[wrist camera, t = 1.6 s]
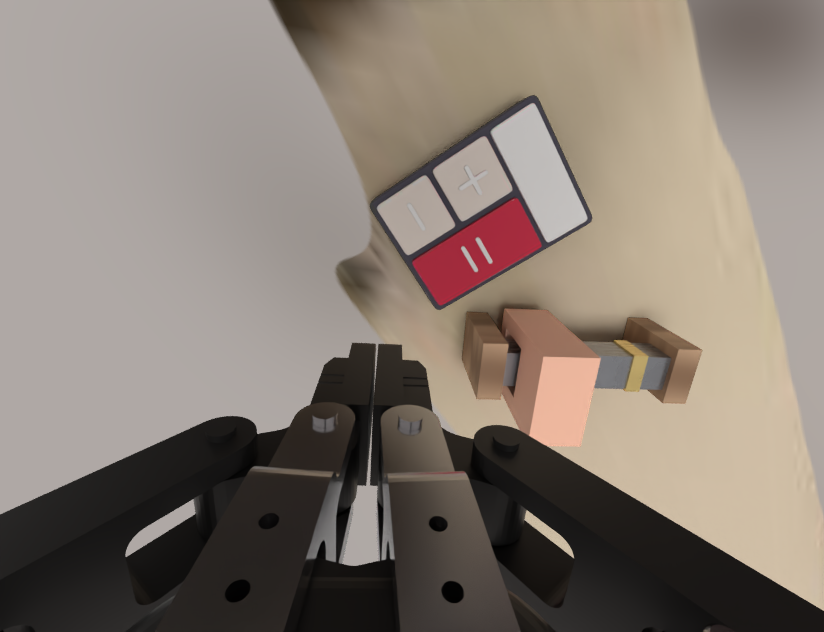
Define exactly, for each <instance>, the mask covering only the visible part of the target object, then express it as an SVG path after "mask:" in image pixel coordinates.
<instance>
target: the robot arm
mask: <svg viewBox="0 0 824 632" xmlns="http://www.w3.org/2000/svg"><path fill="white" fill-rule="evenodd" d="M375 352H376V344H369V343H352V346H351V350H350V354H349V358H336V357H335V358H333V359H332V360H330V361H329V362H328V363H326V364H325V365H324V368H323V371H322V373H321V376H320V379H319V383H318V384H317V387H316V390H315V393H314V396H313V398H312V401H311V404H310V405H309V406H306V407H304V408H303V409H301V410H300V411H299V412H298V413H297V414H296V415H295V417H294V419H293V421H292V423H291V425H290V426H289V427H288V428H285V429H282V430H277V431H272V432H266V433H260V434H257V429H256V426H255V424H254V423H253V422H252V421H250V420H249V419H246V418H243V417H238V416H226V417H219V418H215V419H211V420H209V421H206V422H203V423H201V424H199V425H197V426H195V427H192V428H190V429H189V430H186V431H184V432H181V433H179V434H177V435H175V436H173V437H170V438H168V439H166V440H164V441H162V442H160V443H157V444H155V445H153V446H150V447H148V448H146V449H144V450H142V451H139V452H137V453H135V454H133V455H131V456H129V457H126V458H124V459H122V460H120V461H117V462H115V463H113V464H111V465H109V466H106V467H104V468H102V469H100V470H97V471H95V472H93V473H91V474H89V475H87V476H84V477H82V478H80V479H78V480H76V481H73V482H71V483H69V484H67V485H65V486H62V487H60V488H58V489H56V490H53V491H51V492H49V493H47V494H44V495H42V496H40V497H38V498H36V499H34V500H32V501H29V502H27V503H25V504H22V505H20V506H18V507H16V508H14V509H11V510H10V511H7V512H5V513H3V514H0V632H824V611H823V610H821V609H819V608H818V607H816V606H814V605H813V604H811V603H809V602H808V601H806V600H804V599H803V598H801V597H799V596H798V595H796V594H794V593H792V592H791V591H789V590H787V589H786V588H784V587H782V586H781V585H779V584H777V583H776V582H774V581H772V580H771V579H769V578H767V577H766V576H764V575H762V574H761V573H759V572H757V571H756V570H754V569H752V568H750V567H749V566H747V565H745V564H744V563H742V562H740V561H739V560H737V559H735V558H734V557H732V556H730V555H729V554H727V553H725V552H724V551H722V550H720V549H719V548H717V547H715V546H714V545H712V544H710V543H708V542H707V541H705V540H703V539H702V538H700V537H698V536H697V535H695V534H693V533H692V532H690V531H688V530H687V529H685V528H683V527H682V526H680V525H678V524H677V523H675V522H673V521H672V520H670V519H668V518H666V517H665V516H663V515H661V514H660V513H658V512H656V511H655V510H653V509H651V508H650V507H648V506H646V505H645V504H643V503H641V502H640V501H638V500H636V499H635V498H633V497H631V496H630V495H628V494H626V493H624V492H623V491H621V490H619V489H618V488H616V487H614V486H613V485H611V484H609V483H608V482H606V481H604V480H603V479H601V478H599V477H598V476H596V475H594V474H593V473H591V472H589V471H588V470H586V469H584V468H582V467H581V466H579V465H577V464H576V463H574V462H572V461H571V460H569V459H567V458H566V457H564V456H562V455H561V454H559V453H557V452H556V451H554V450H552V449H551V448H549V447H547V446H546V445H544V444H542V443H540V442H539V441H537V440H535V439H534V438H532V437H530V436H529V435H527V434H525V433H524V432H522V431H520V430H517V429H515V428H512V427H508V426H502V425H491V426H486V427H483V428H481V429H480V430H478V431H477V432H476V434H475V436H474V439H470V438H466V437H462V436H458V435H455V434H453V433H450V432H448V431H446V430H445V429H443V428H442V427H441V425H440V421H439V419H438V417H437V416H436V414H434V413H433V411H432V404H431V398H430V391H429V387H428V386H429V385H428V380H427V373H426V368H425V367H424V366H423V365H422V364H421V363H420V362H419V361H412V360H402V345H394V344H379V345H378V357H377V369H376V379H375V377H374V376H375ZM374 379H375V391H374ZM373 401H374V402H373ZM372 414H373V424H372ZM371 426H373V427H372V452H371V477H370V478H371V479H370V485H373V486H378V490H377V513H376V515H377V540H378V561H376V562H373V563H368V564H364V565H359V566H348V565H344V564H342V563H343V558H344V553H345V548H346V544H347V539H348V534H349V529H350V524H351V520H352V515H353V502H354V500H355V498H356V492H357V485H365V486H366V482H367V471H368V459H369V448H370V436H371ZM192 499H194V505H195V512H196V514H195V515H193V516H192V517H190V518H188V519H187V520H185V521H184V522H182V523H181V524H179V525H177V526H176V527H174V528H172V529H171V530H169V531H168V532H166V533H165V534H163V535H161V536H160V537H158V538H156V539H155V540H153V541H152V542H150V543H148V544H147V545H145V546H144V547H142V548H140V549H139V550H137V551H136V552H134V553H132V554H131V555H129V556H128V557H125V553H126V549H127V547H128V544H129V543H130V541H131V540H132V538H133V537H134V536H135V535H136V534H137V533H138V532H139V531H141V530H142V529H143V528H145V527H147V526H148V525H150V524H152V523H153V522H155V521H157V520H158V519H160V518H162V517H163V516H165V515H167V514H169V513H170V512H172V511H174V510H175V509H177V508H179V507H180V506H182V505H184V504H185V503H187V502H189V501H191V500H192ZM526 510H528V511H529V512H530V513H532V514H533V515H534V516H536V517H537V518H538V519H540V520H541V521H542V522H544V523H545V524H546V525H548V526H549V527H550V528H552V529H553V530H554V531H556V532H557V533H558V534H560V535H561V536H562V537H563V538H564V539H565V540H566V541H567V543H568V544H569V545H570V547H571V549H572V551H573V554H574V558H572V557H571V556H570V555H569V554H567V553H566V552H565V551H563V550H562V549H561V548H560V547H558V546H557V545H556V544H554V543H553V542H552V541H550V540H549V539H548V538H547V537H545V536H544V535H543V534H541V533H540V532H539V531H538V530H536V529H535V528H534V527H532V526H531V525H530V524H529V523H527V522H526V521H525V520H524V519H525V514H526Z"/></svg>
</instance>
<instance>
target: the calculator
mask: <svg viewBox="0 0 824 632" xmlns="http://www.w3.org/2000/svg"><path fill="white" fill-rule="evenodd" d="M370 208H371V210H372V212H373V214H374V215H375V217H376V218H377V220H378V221H379V223H380V224H381V226H382V227H383V229H384V230H385V232H386V234H387V235H388V237H389V238H390V240H391V241H392V243H393V244H394V246H395V247H396V249H397V250H398V252H399V254H400V255H401V257H402V258H403V260H404V261H405V263H406V264H407V266H408V267H409V269H410V270H411V272H412V274H413V275H414V277H415V278H416V280H417V281H418V283H419V284H420V286H421V287H422V289H423V290H424V292H425V294H426V295H427V297H428V298H429V300H430V301H431V303H432V304H433V306H434V307H435V308H436V309H437V310H441V309H443V308H445V307H446V306H448V305H450V304H452V303H453V302H455V301H457V300H458V299H460V298H462V297H464V296H465V295H467V294H469V293H470V292H472V291H474V290H476V289H477V288H479V287H481V286H483V285H484V284H486V283H488V282H489V281H491V280H493V279H495V278H496V277H498V276H500V275H501V274H503V273H505V272H507V271H508V270H510V269H512V268H513V267H515V266H517V265H519V264H520V263H522V262H524V261H525V260H527V259H529V258H531V257H532V256H534V255H536V254H537V253H539V252H541V251H543V250H544V249H546V248H548V247H550V246H551V245H553V244H555V243H556V242H558V241H560V240H562V239H563V238H565V237H567V236H568V235H570V234H572V233H574V232H575V231H577V230H579V229H580V228H582V227H584V226H586V225H587V224H589V223H590V222H591V221H592V215H591V212H590V210H589V208H588V206H587V204H586V202H585V199H584V197H583V195H582V193H581V191H580V188H579V186H578V184H577V182H576V180H575V178H574V175H573V173H572V171H571V169H570V167H569V164H568V162H567V160H566V158H565V156H564V154H563V151H562V149H561V147H560V145H559V143H558V140H557V138H556V136H555V134H554V132H553V130H552V127H551V125H550V123H549V121H548V119H547V116H546V114H545V112H544V110H543V108H542V106H541V103H540V101H539V99H538V98H537V96H535V95H532V96H529V97H527V98H525V99H523V100H521V101H520V102H518V103H516V104H515V105H513V106H512V107H510V108H509V109H507V110H506V111H504V112H503V113H501V114H500V115H498V116H497V117H495V118H494V119H492V120H491V121H489V122H488V123H486V124H485V125H483V126H482V127H481V128H479V129H478V130H476V131H475V132H473V133H472V134H470V135H469V136H467V137H466V138H464V139H463V140H461V141H460V142H458V143H457V144H455V145H454V146H452V147H451V148H449V149H448V150H446V151H445V152H443V153H442V154H440V155H439V156H437V157H436V158H434V159H433V160H431V161H430V162H428V163H427V164H425V165H424V166H422V167H421V168H419V169H418V170H416V171H415V172H413V173H412V174H410V175H409V176H407V177H406V178H404V179H403V180H401V181H400V182H398V183H397V184H395V185H394V186H392V187H391V188H389V189H388V190H386V191H385V192H383V193H382V194H380V195H379V196H377V197H376V198H375V199H374V200H373V201H372V202H371V204H370Z"/></svg>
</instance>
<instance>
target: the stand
mask: <svg viewBox="0 0 824 632" xmlns="http://www.w3.org/2000/svg"><path fill="white" fill-rule="evenodd" d="M623 340H627V341H628V342H630V343H650V344H652V345H653V346H655V347H656V348H658V349H659V350H660V351H662V352H663V353H665V354H666V355H668V356H669V357H671V362H670V365H669V368H668V372H667V375H666V378H665V382H664V385H663V388H662V390H650V389H647V390H648V391H649V392H650V393H652V394H653V395H654V396H655V397H656V398H657V399H658V400H660V401H661V402H662V403H679V404H685V403H686V400H687V397H688V394H689V390H690V387H691V384H692V381H693V378H694V375H695V372H696V369H697V366H698V363H699V359H700V356H701V353H702V350H701V349H700V348H698V347H696V346H694V345H693V344H691V343H689V342H688V341H686V340H684V339H682V338H681V337H679V336H677V335H675V334H674V333H672V332H670V331H669V330H667V329H665V328H663V327H662V326H660V325H658V324H656V323H655V322H653V321H651V320H650V319H648V318H628V320H627V324H626V328H625V332H624V336H623ZM508 345H509V344H508V343H507V341H506V340H505V338H504V337H503V335H502V334H501V332H500V331H499V329H498V328H497V326H496V325H495V323H494V322H493V320H492V319H491V317H490V316H489V314H488V313H483V312H467V315H466V325H465V334H464V344H463V353H462V361H463V364H464V366H465V369H466V372H467V374H468V377H469V380H470V382H471V385H472V388H473V390H474V393H475V396H476V399H496V400H501V393H502V386H503V379H504V373H505V366H506V359H507V352H508Z"/></svg>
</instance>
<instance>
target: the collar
mask: <svg viewBox="0 0 824 632" xmlns="http://www.w3.org/2000/svg"><path fill="white" fill-rule="evenodd" d="M501 334H502V335H503V337H504V338H505V339H514V340H515V341H516V342H517V344H518V345H519V347H520V348H521V354H520V361H519V367H518V373H517V380H516V386H502V395H503V397H504V399H505V401H506V403H507V405H508V407H509V409H510V411H511V413H512V415H513V417H514V419H515V421H516V423H517V425H518V427H519V429H520V431H522V432H524V433H525V434H527V435H529V436H530V437H532V438H534V439H535V440H537V441H539V442H540V443H542V444H544V445H546V446H581V442H582V438H583V433H584V429H585V425H586V421H587V416H588V412H589V408H590V403H591V399H592V395H593V390H594V386H595V382H596V377H597V373H598V369H599V365H600V360H601V358H600V357H599V356H598V355H597V354H596V353H594V352H593V351H592V350H591V349H590V348H589V347H588V346H587V345H586V344H584V343H583V342H582V341H581V340H580V339H579V338H578V337H577V336H576V335H574V334H573V333H572V332H571V331H570V330H569V329H568V328H567V327H566V326H564V325H563V324H562V323H561V322H560V321H559V320H558V319H557V318H556V317H554V316H553V315H552V314H551V313H550V312H549V311H548V310H531V309H504V315H503V322H502V329H501Z"/></svg>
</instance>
